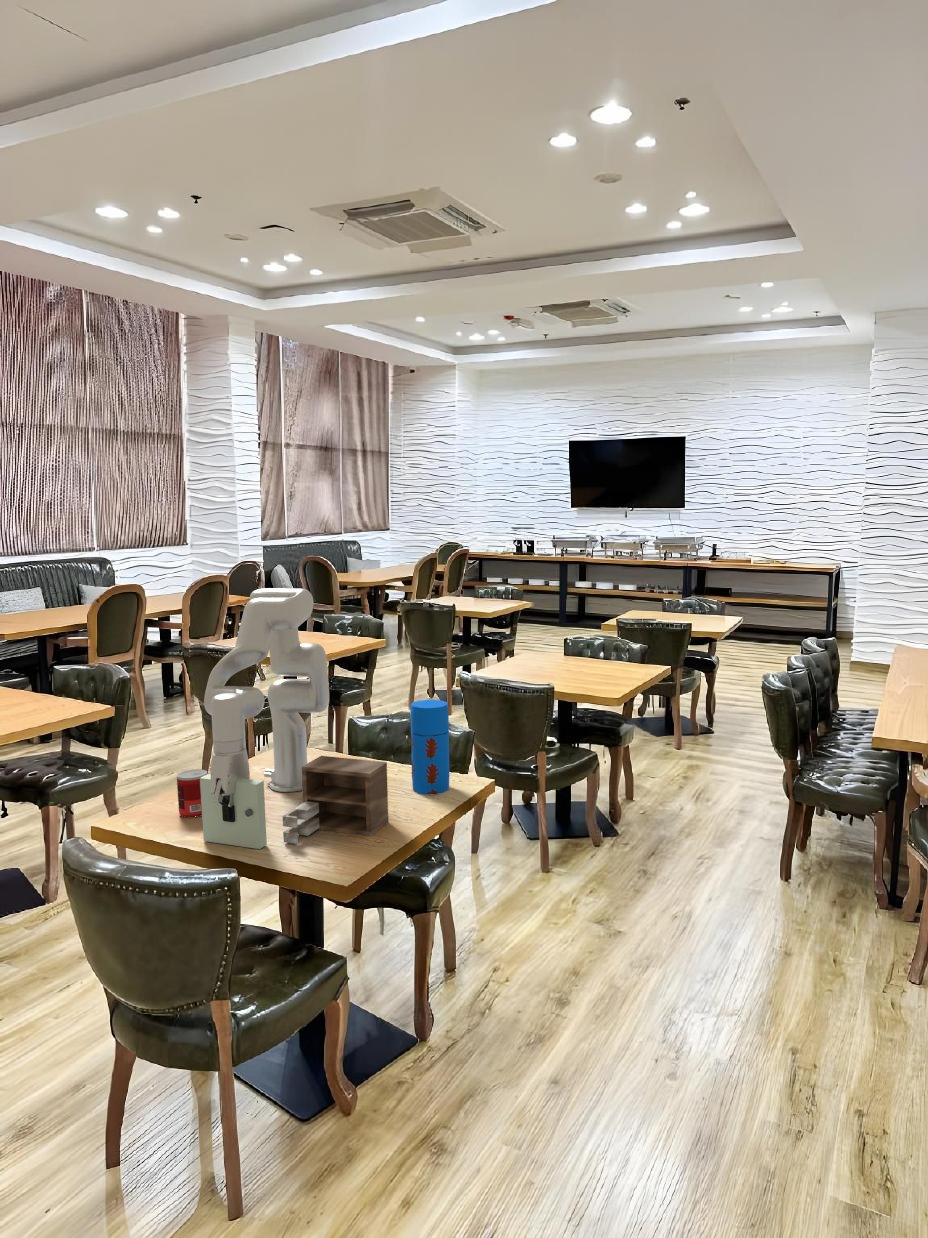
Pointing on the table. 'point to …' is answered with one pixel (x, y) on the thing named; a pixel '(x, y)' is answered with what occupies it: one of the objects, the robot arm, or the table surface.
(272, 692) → the robot arm
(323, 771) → the cabinet
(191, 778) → the canned food
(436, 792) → the thermos
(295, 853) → the table surface
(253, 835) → the door
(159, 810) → the table surface
